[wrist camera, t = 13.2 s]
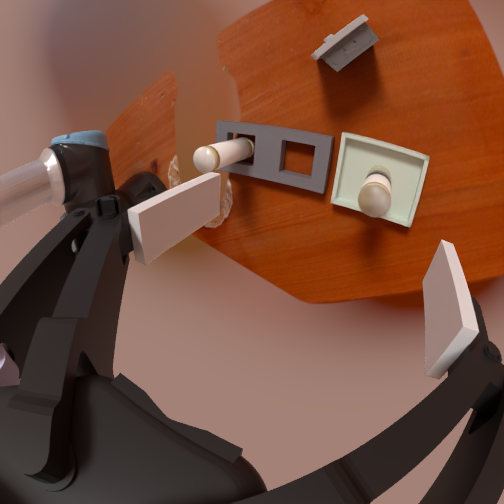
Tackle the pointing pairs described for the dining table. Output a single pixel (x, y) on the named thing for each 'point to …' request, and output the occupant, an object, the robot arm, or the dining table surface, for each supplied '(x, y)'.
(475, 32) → the dining table surface
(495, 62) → the dining table surface
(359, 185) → the parts tray
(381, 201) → the fuse
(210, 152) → the fuse
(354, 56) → the electrical switch
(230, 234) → the dining table surface
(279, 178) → the fuse block
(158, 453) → the robot arm
